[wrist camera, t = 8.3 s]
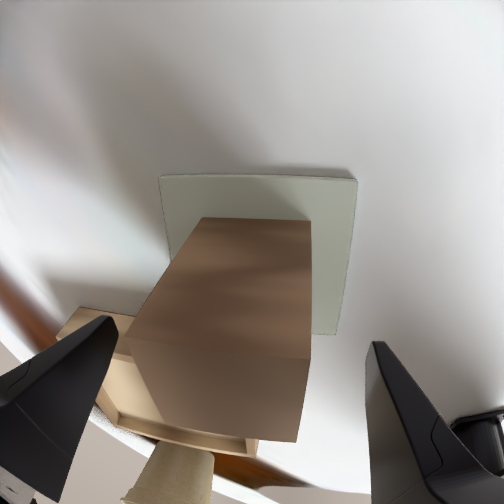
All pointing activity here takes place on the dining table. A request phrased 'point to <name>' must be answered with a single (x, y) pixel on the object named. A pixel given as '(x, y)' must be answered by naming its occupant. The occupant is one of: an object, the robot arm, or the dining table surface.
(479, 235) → the dining table surface
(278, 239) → the walnut block
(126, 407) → the oak box
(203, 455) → the flower pot
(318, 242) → the pad
